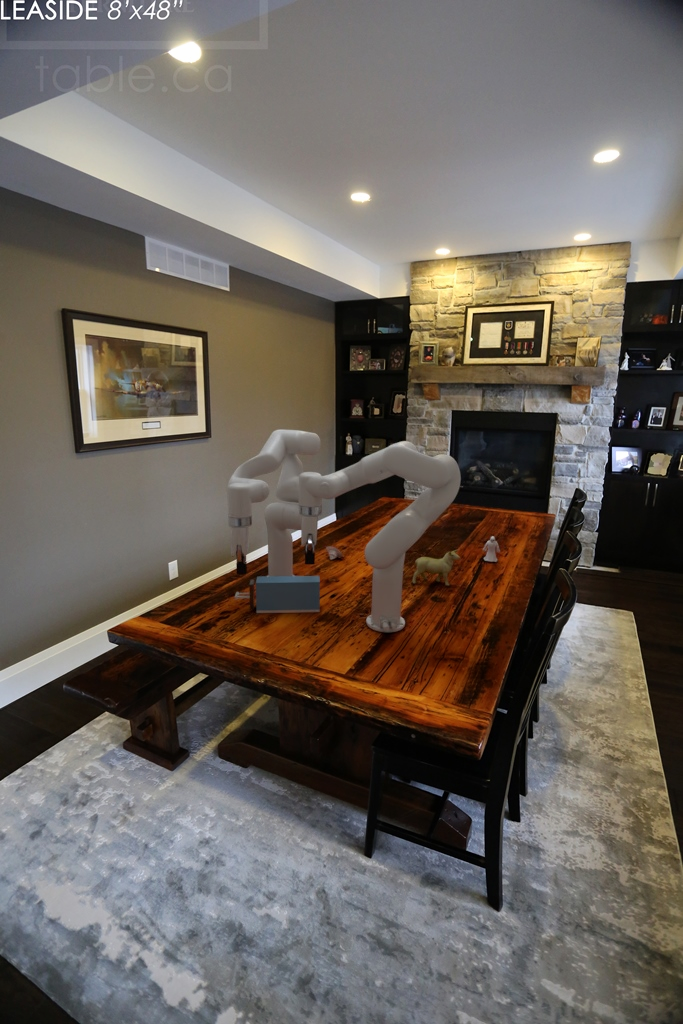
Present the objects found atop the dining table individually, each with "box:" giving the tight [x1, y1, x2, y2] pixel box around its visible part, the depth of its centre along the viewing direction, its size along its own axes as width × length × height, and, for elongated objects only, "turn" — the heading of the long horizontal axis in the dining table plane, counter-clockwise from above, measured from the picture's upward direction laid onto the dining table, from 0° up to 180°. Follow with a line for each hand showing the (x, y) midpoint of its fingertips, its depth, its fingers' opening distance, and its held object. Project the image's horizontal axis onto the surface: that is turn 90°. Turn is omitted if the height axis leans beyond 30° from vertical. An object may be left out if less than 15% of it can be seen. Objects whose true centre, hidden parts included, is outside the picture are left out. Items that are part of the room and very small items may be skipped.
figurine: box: [482, 535, 501, 563], centre depth 223 cm, size 8×8×12 cm
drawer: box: [234, 579, 256, 611], centre depth 171 cm, size 25×4×9 cm, turn 94°
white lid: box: [325, 545, 343, 561], centre depth 222 cm, size 8×5×8 cm
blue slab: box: [255, 575, 321, 614], centre depth 171 cm, size 21×6×11 cm, turn 94°
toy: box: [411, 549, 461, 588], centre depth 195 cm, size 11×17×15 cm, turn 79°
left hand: (241, 573), depth 168 cm, fingers closed
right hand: (309, 559), depth 169 cm, fingers open, 9 cm apart
